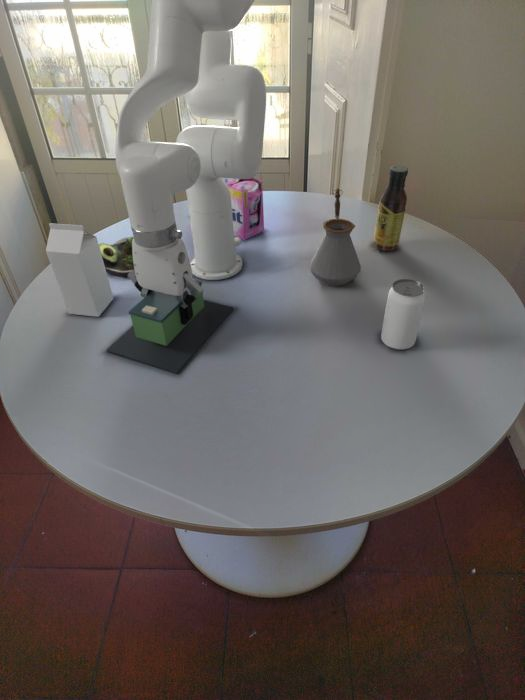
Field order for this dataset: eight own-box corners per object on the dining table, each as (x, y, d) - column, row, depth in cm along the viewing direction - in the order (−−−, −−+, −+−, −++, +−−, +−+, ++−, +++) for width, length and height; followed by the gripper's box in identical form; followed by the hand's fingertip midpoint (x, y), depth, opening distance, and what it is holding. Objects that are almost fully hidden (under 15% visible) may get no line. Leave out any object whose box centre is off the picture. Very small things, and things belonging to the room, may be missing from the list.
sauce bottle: (370, 241, 121) (380, 162, 108) (393, 240, 121) (407, 161, 108) (376, 254, 116) (388, 173, 103) (401, 252, 116) (416, 171, 103)
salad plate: (138, 232, 128) (135, 216, 125) (186, 249, 120) (184, 233, 117) (81, 262, 116) (75, 245, 113) (130, 283, 108) (125, 266, 105)
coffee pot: (360, 291, 103) (368, 228, 93) (308, 289, 104) (311, 226, 95) (356, 245, 119) (362, 187, 110) (311, 244, 120) (313, 186, 111)
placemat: (170, 293, 105) (170, 291, 104) (233, 309, 99) (233, 307, 99) (106, 352, 90) (106, 350, 89) (177, 374, 84) (176, 372, 84)
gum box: (268, 232, 126) (267, 182, 117) (247, 242, 122) (245, 191, 113) (211, 208, 139) (206, 161, 131) (190, 216, 135) (183, 169, 126)
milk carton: (99, 317, 98) (73, 234, 86) (68, 314, 99) (38, 231, 87) (114, 298, 104) (91, 217, 91) (84, 296, 105) (58, 215, 93)
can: (416, 333, 91) (429, 280, 84) (413, 353, 87) (426, 300, 79) (383, 327, 93) (392, 275, 85) (378, 347, 88) (387, 293, 81)
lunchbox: (135, 337, 89) (175, 298, 99) (166, 346, 87) (205, 306, 97) (127, 309, 85) (171, 271, 95) (160, 318, 83) (201, 279, 92)
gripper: (209, 232, 81) (218, 316, 92) (127, 216, 86) (145, 297, 98) (186, 251, 75) (198, 337, 87) (101, 233, 81) (123, 316, 93)
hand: (170, 315), depth 92 cm, fingers closed on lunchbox, 7 cm apart
